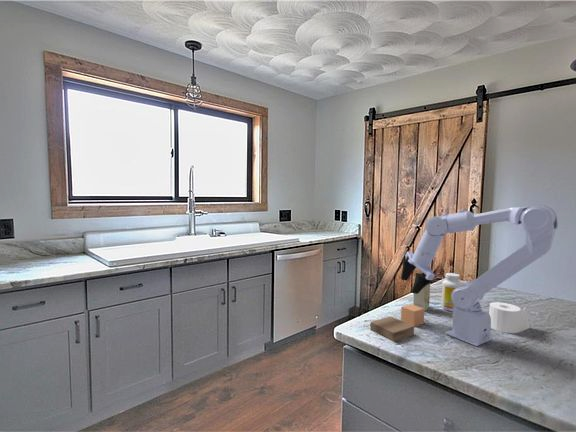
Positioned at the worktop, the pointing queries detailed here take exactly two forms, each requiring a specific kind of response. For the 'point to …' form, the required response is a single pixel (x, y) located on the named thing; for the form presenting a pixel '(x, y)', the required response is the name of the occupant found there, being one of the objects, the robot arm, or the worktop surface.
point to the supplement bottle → (449, 290)
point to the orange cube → (412, 315)
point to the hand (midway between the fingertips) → (409, 286)
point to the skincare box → (422, 297)
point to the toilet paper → (508, 318)
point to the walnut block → (392, 328)
